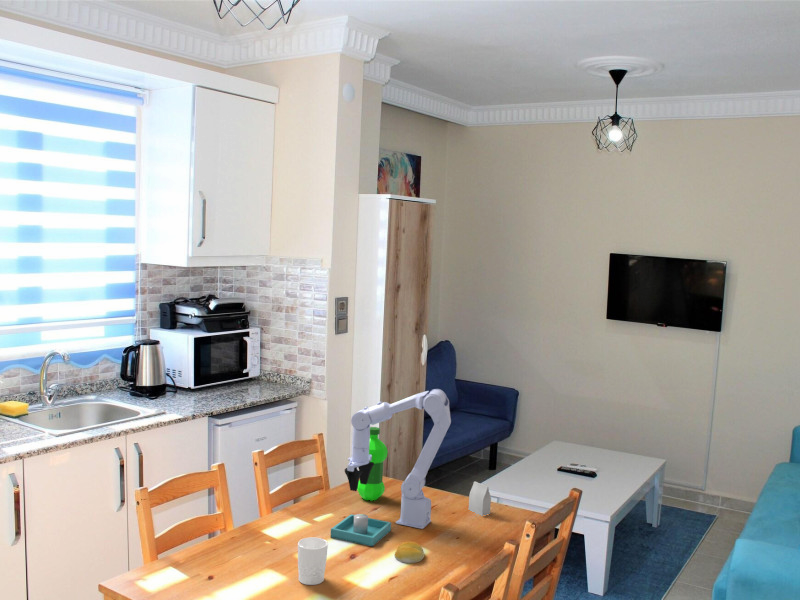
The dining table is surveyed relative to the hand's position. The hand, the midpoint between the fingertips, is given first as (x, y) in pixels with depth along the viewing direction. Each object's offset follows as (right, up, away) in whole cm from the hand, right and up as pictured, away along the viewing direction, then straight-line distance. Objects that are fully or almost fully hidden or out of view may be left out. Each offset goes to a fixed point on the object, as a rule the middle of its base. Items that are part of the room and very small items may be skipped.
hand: (358, 487), depth 248 cm
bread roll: (+16, -13, -30) cm, 37 cm away
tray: (+2, -11, -15) cm, 19 cm away
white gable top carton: (+41, -11, +9) cm, 43 cm away
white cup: (-10, -13, -48) cm, 50 cm away
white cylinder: (+1, -10, -15) cm, 18 cm away
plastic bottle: (+3, -8, +18) cm, 20 cm away
